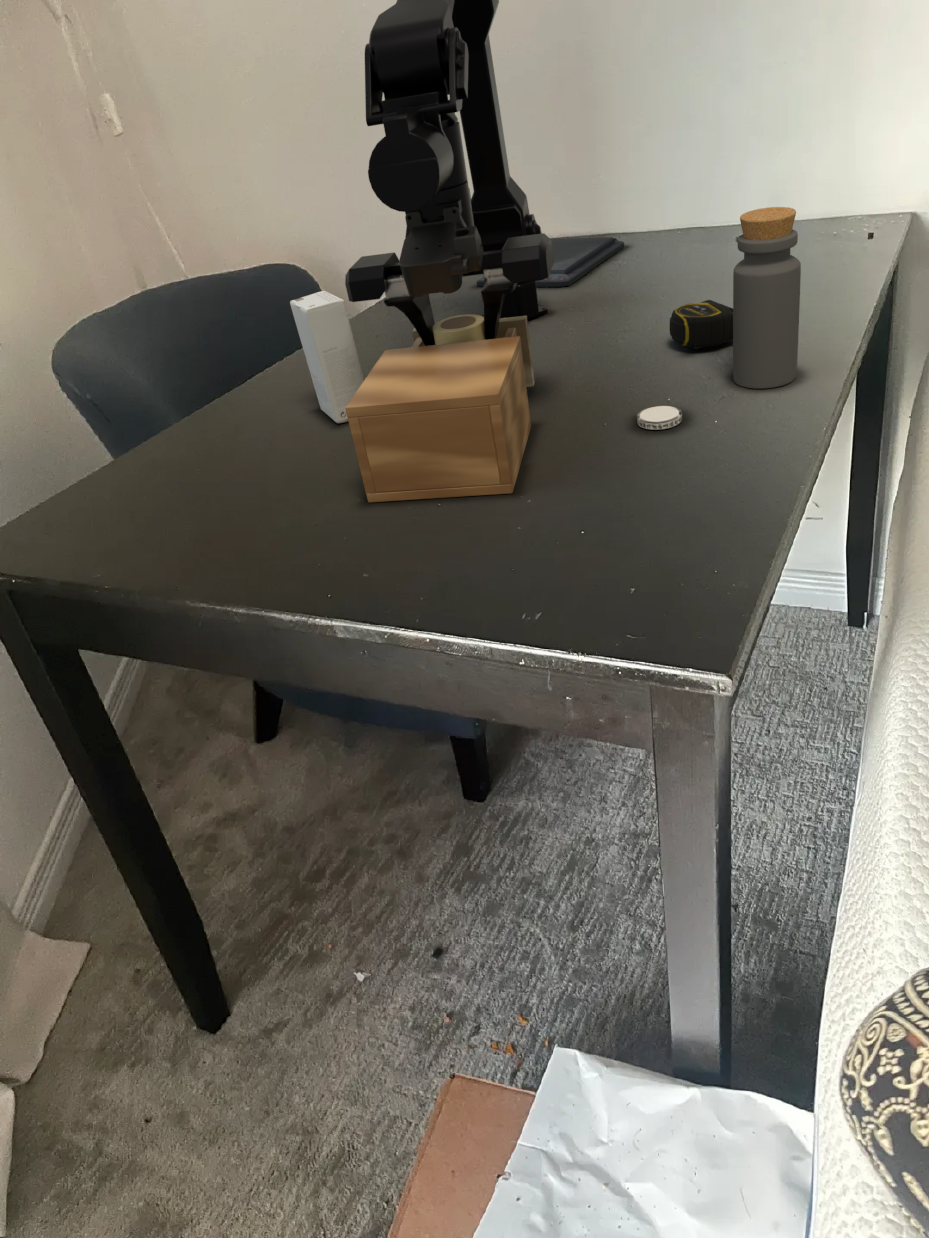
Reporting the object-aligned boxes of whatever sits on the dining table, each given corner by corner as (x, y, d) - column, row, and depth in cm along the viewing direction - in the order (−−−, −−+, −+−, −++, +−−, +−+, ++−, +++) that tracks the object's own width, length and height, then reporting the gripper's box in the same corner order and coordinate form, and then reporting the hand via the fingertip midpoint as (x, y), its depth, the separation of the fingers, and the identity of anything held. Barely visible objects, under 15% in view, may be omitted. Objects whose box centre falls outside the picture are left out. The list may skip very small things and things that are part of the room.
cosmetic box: (374, 413, 99) (348, 298, 93) (335, 426, 98) (305, 310, 91) (354, 398, 104) (328, 287, 97) (316, 410, 103) (287, 299, 96)
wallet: (565, 273, 126) (471, 273, 134) (566, 288, 127) (473, 287, 135) (629, 232, 139) (539, 234, 147) (630, 246, 140) (541, 247, 148)
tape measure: (748, 343, 99) (749, 308, 97) (690, 359, 98) (689, 324, 96) (714, 328, 104) (714, 294, 102) (659, 343, 103) (657, 309, 101)
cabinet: (403, 437, 93) (385, 350, 88) (531, 426, 90) (520, 336, 85) (367, 503, 82) (344, 407, 77) (512, 493, 79) (498, 394, 74)
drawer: (433, 378, 103) (422, 315, 99) (539, 368, 100) (531, 303, 96) (399, 442, 89) (384, 372, 86) (519, 432, 87) (509, 360, 83)
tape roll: (430, 371, 93) (422, 326, 90) (471, 356, 95) (464, 310, 92) (459, 382, 89) (451, 334, 86) (501, 365, 91) (494, 318, 88)
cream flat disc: (634, 430, 85) (634, 423, 85) (640, 412, 88) (639, 406, 88) (679, 428, 84) (679, 422, 83) (683, 410, 87) (683, 404, 87)
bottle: (725, 373, 93) (724, 213, 85) (783, 362, 93) (788, 201, 85) (744, 393, 88) (745, 226, 80) (806, 382, 88) (814, 213, 80)
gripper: (308, 221, 78) (350, 399, 87) (529, 191, 74) (551, 380, 83) (345, 193, 87) (380, 357, 96) (544, 164, 83) (562, 338, 92)
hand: (463, 358), depth 91 cm, fingers closed on tape roll, 5 cm apart
